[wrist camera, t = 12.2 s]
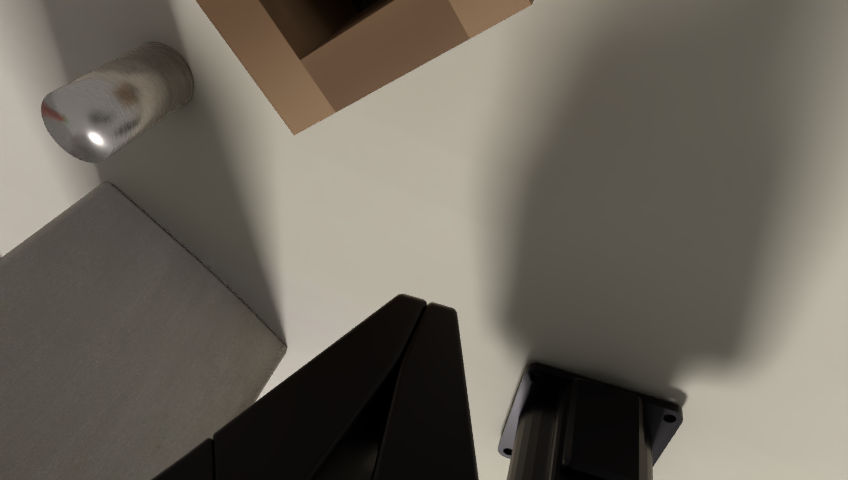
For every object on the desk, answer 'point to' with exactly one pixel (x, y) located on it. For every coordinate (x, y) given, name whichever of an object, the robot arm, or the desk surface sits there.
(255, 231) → the desk surface
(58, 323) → the grey pentagonal slab
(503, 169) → the desk surface
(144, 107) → the stand rod
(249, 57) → the collar
